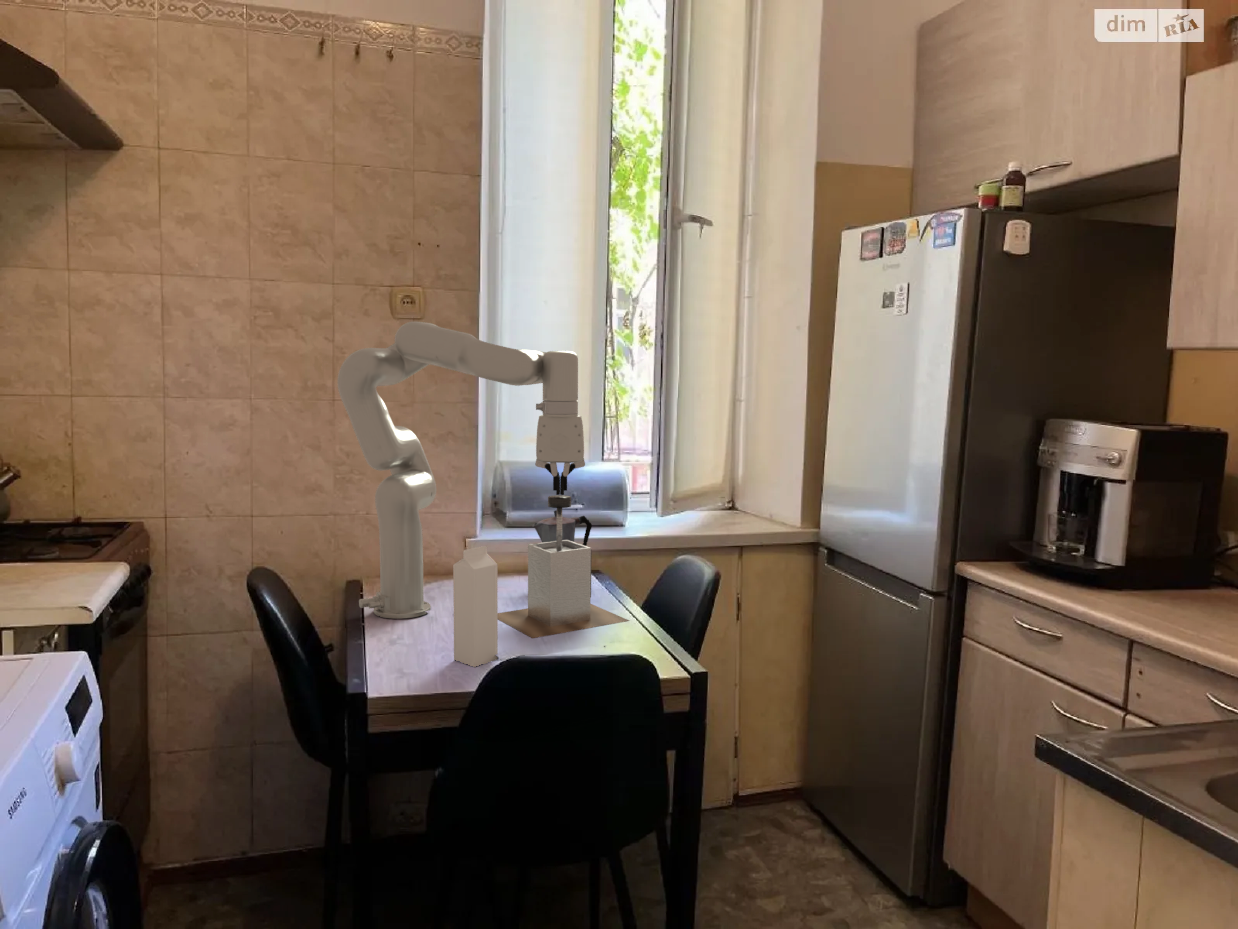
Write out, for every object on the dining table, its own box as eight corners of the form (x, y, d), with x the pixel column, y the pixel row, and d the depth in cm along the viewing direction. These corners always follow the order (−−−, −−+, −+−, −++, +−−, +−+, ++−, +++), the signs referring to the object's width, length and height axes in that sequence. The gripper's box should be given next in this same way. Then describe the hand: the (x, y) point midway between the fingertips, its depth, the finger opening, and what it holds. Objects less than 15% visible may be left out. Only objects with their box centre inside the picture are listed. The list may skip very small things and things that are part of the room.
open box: (550, 626, 194) (550, 552, 192) (527, 615, 203) (528, 544, 201) (601, 617, 202) (602, 546, 200) (578, 607, 210) (578, 538, 208)
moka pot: (526, 586, 233) (526, 508, 230) (582, 580, 239) (583, 505, 237) (539, 595, 224) (539, 514, 222) (597, 589, 231) (598, 511, 228)
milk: (497, 660, 177) (498, 547, 174) (474, 668, 172) (474, 552, 169) (476, 653, 181) (477, 543, 178) (452, 660, 176) (452, 547, 173)
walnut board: (532, 644, 187) (532, 638, 186) (489, 619, 203) (489, 614, 203) (629, 626, 200) (629, 620, 200) (581, 604, 216) (581, 599, 216)
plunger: (552, 560, 194) (552, 501, 193) (534, 553, 201) (534, 495, 199) (584, 556, 199) (585, 498, 197) (565, 549, 205) (566, 493, 204)
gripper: (524, 409, 192) (524, 496, 194) (595, 410, 192) (594, 496, 195) (526, 407, 199) (526, 491, 201) (595, 408, 200) (594, 491, 202)
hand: (560, 493), depth 198 cm, fingers closed
